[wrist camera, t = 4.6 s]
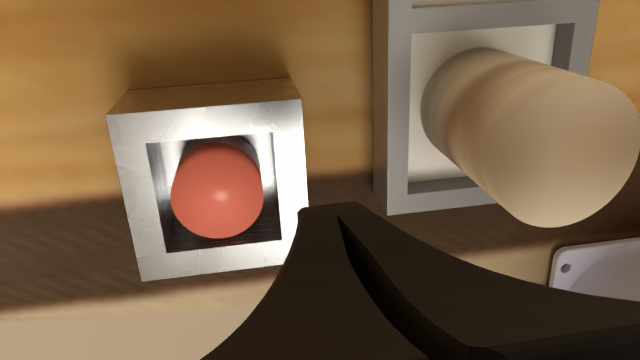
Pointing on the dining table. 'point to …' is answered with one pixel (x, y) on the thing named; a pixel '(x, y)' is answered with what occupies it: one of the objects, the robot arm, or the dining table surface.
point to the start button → (217, 187)
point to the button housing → (163, 158)
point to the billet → (532, 133)
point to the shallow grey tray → (422, 62)
